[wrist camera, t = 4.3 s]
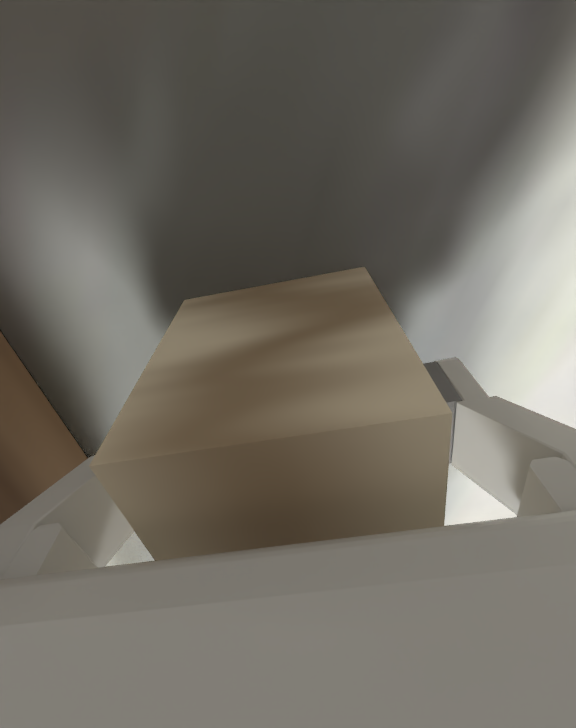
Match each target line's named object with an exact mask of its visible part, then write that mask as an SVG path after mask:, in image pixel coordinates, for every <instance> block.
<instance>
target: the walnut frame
mask: <svg viewBox="0 0 576 728" xmlns="http://www.w3.org/2000/svg"><path fill="white" fill-rule="evenodd" d="M86 459H88V458H87V457H86V455H85V454H84V452H83V451H82V449H81V448H80V446H79V445H78V443H77V442H76V441H75V439H74V438H73V436H72V435H71V433H70V432H69V430H68V429H67V427H66V426H65V425H64V423H63V422H62V420H61V419H60V417H59V416H58V414H57V413H56V411H55V410H54V409H53V407H52V406H51V404H50V403H49V401H48V400H47V398H46V397H45V395H44V394H43V393H42V391H41V390H40V388H39V387H38V385H37V384H36V382H35V381H34V379H33V378H32V377H31V375H30V374H29V372H28V371H27V369H26V368H25V366H24V365H23V364H22V362H21V361H20V359H19V358H18V356H17V355H16V353H15V352H14V350H13V349H12V348H11V346H10V345H9V343H8V342H7V340H6V339H5V337H4V336H3V334H2V333H1V332H0V524H2V523H3V522H4V521H6V520H7V519H8V518H10V517H11V516H12V515H14V514H15V513H16V512H18V511H19V510H20V509H22V508H23V507H24V506H26V505H27V504H28V503H30V502H31V501H32V500H34V499H35V498H36V497H37V496H39V495H40V494H41V493H43V492H44V491H45V490H47V489H48V488H49V487H51V486H52V485H53V484H55V483H56V482H57V481H59V480H60V479H61V478H63V477H64V476H65V475H67V474H68V473H69V472H71V471H72V470H73V469H75V468H76V467H77V466H79V465H80V464H81V463H83V462H84V461H85V460H86Z"/></svg>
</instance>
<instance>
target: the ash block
mask: <svg viewBox="0 0 576 728" xmlns="http://www.w3.org/2000/svg"><path fill="white" fill-rule="evenodd" d="M451 426H452V411H451V410H450V408H449V406H448V405H447V403H446V401H445V400H444V398H443V396H442V395H441V393H440V391H439V390H438V388H437V386H436V385H435V383H434V381H433V380H432V378H431V376H430V375H429V373H428V371H427V370H426V368H425V366H424V365H423V363H422V361H421V360H420V358H419V356H418V355H417V353H416V351H415V350H414V348H413V346H412V345H411V343H410V341H409V340H408V338H407V336H406V335H405V333H404V331H403V330H402V328H401V326H400V325H399V323H398V321H397V320H396V318H395V316H394V315H393V313H392V311H391V310H390V308H389V306H388V305H387V303H386V301H385V300H384V298H383V296H382V295H381V293H380V291H379V290H378V288H377V287H376V285H375V283H374V282H373V280H372V278H371V277H370V275H369V273H368V272H367V270H366V268H365V267H360V268H354V269H349V270H343V271H338V272H333V273H327V274H322V275H316V276H311V277H306V278H300V279H295V280H289V281H284V282H278V283H273V284H268V285H262V286H257V287H251V288H246V289H241V290H235V291H230V292H224V293H219V294H213V295H208V296H203V297H197V298H192V299H186V300H184V301H183V303H182V305H181V307H180V308H179V310H178V312H177V314H176V315H175V317H174V319H173V321H172V322H171V324H170V326H169V328H168V329H167V331H166V333H165V334H164V336H163V338H162V340H161V341H160V343H159V345H158V347H157V348H156V350H155V352H154V354H153V355H152V357H151V359H150V361H149V362H148V364H147V366H146V368H145V369H144V371H143V373H142V375H141V376H140V378H139V380H138V382H137V383H136V385H135V387H134V389H133V390H132V392H131V394H130V395H129V397H128V399H127V401H126V402H125V404H124V406H123V408H122V409H121V411H120V413H119V415H118V416H117V418H116V420H115V422H114V423H113V425H112V427H111V429H110V430H109V432H108V434H107V436H106V437H105V439H104V441H103V443H102V444H101V446H100V448H99V450H98V451H97V453H96V455H95V456H94V458H93V460H92V462H91V463H90V465H89V467H90V468H91V470H92V471H93V473H94V474H95V475H96V477H97V478H98V480H99V481H100V483H101V484H102V485H103V487H104V488H105V490H106V491H107V493H108V494H109V495H110V497H111V498H112V500H113V501H114V503H115V504H116V505H117V507H118V508H119V510H120V511H121V513H122V514H123V515H124V517H125V518H126V520H127V521H128V523H129V524H130V525H131V527H132V528H133V530H134V531H135V533H136V534H137V535H138V537H139V538H140V540H141V541H142V543H143V544H144V545H145V547H146V548H147V550H148V551H149V553H150V554H151V555H152V557H153V558H154V560H155V561H157V560H165V559H173V558H182V557H190V556H198V555H207V554H215V553H223V552H232V551H240V550H248V549H257V548H265V547H273V546H282V545H290V544H298V543H307V542H315V541H323V540H332V539H340V538H348V537H356V536H365V535H373V534H381V533H390V532H398V531H406V530H415V529H423V528H431V527H439V526H444V519H445V505H446V492H447V479H448V466H449V453H450V440H451Z"/></svg>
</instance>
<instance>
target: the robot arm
mask: <svg viewBox="0 0 576 728" xmlns="http://www.w3.org/2000/svg"><path fill="white" fill-rule="evenodd" d="M423 365H424V366H425V368H426V370H427V371H428V373H429V375H430V376H431V378H432V380H433V381H434V383H435V385H436V386H437V388H438V390H439V391H440V393H441V395H442V396H443V398H444V400H445V401H446V403H447V405H448V406H449V408H450V410H451V411H452V426H451V440H450V453H449V463H452V464H451V465H452V466H454V467H455V468H456V469H458V470H459V471H460V472H462V473H463V474H464V475H465V476H467V477H468V478H469V479H471V480H472V481H473V482H475V483H476V484H477V485H479V486H480V487H481V488H482V489H484V490H485V491H486V492H488V493H489V494H490V495H492V496H493V497H494V498H495V499H497V500H498V501H499V502H501V503H502V504H503V505H505V506H506V507H507V508H508V509H510V510H511V511H512V512H514V513H515V514H516V515H517V517H514V518H506V519H498V520H489V521H481V522H473V523H464V524H456V525H448V526H439V527H431V528H423V529H415V530H406V531H398V532H390V533H381V534H373V535H365V536H356V537H348V538H340V539H332V540H323V541H315V542H307V543H298V544H290V545H282V546H273V547H265V548H257V549H248V550H240V551H232V552H223V553H215V554H207V555H198V556H190V557H182V558H173V559H165V560H157V561H149V562H140V563H132V564H124V565H115V566H107V567H105V566H106V565H107V563H108V562H109V561H110V560H111V559H112V557H113V556H114V555H115V554H116V552H117V551H118V550H119V549H120V548H121V546H122V545H123V544H124V543H125V541H126V540H127V539H128V538H129V537H130V535H131V534H132V533H133V532H134V530H133V528H132V527H131V525H130V524H129V523H128V521H127V520H126V518H125V517H124V515H123V514H122V513H121V511H120V510H119V508H118V507H117V505H116V504H115V503H114V501H113V500H112V498H111V497H110V495H109V494H108V493H107V491H106V490H105V488H104V487H103V485H102V484H101V483H100V481H99V480H98V478H97V477H96V475H95V474H94V473H93V471H92V470H91V468H90V467H89V465H90V463H91V462H92V460H93V458H94V456H90V457H89V458H88V459H86V460H85V461H84V462H83V463H81V464H80V465H79V466H77V467H76V468H75V469H73V470H72V471H71V472H69V473H68V474H67V475H65V476H64V477H63V478H61V479H60V480H59V481H57V482H56V483H55V484H53V485H52V486H51V487H49V488H48V489H47V490H45V491H44V492H43V493H41V494H40V495H39V496H37V497H36V498H35V499H34V500H32V501H31V502H30V503H28V504H27V505H26V506H24V507H23V508H22V509H20V510H19V511H18V512H16V513H15V514H14V515H12V516H11V517H10V518H8V519H7V520H6V521H4V522H3V523H2V524H0V728H576V429H574V428H572V427H569V426H567V425H565V424H562V423H560V422H557V421H555V420H553V419H550V418H548V417H545V416H543V415H540V414H538V413H536V412H533V411H531V410H528V409H526V408H524V407H521V406H519V405H516V404H514V403H512V402H509V401H507V400H504V399H502V398H500V397H497V396H493V397H489V396H488V395H487V393H486V392H485V391H484V390H483V388H482V387H481V386H480V385H479V383H478V382H477V381H476V380H475V378H474V377H473V376H472V375H471V373H470V372H469V371H468V370H467V368H466V367H465V366H464V365H463V363H462V362H461V361H460V359H458V358H456V357H453V358H448V359H443V360H438V361H434V362H429V363H424V364H423Z"/></svg>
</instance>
